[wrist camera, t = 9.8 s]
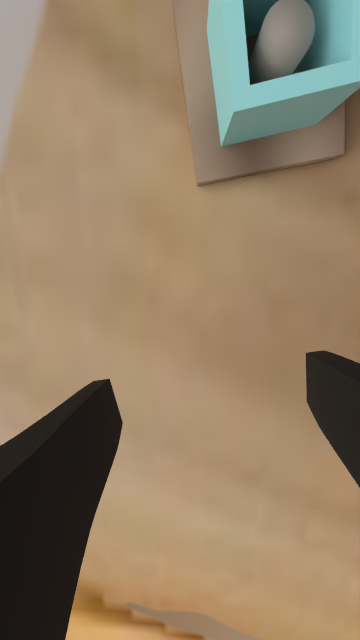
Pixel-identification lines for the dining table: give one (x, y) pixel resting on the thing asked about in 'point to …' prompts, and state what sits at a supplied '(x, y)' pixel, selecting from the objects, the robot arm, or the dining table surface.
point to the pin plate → (208, 119)
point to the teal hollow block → (289, 91)
